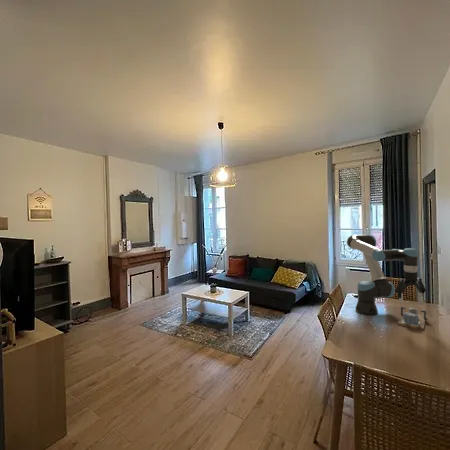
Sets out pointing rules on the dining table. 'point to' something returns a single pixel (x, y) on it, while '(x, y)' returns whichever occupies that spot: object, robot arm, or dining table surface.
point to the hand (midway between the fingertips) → (410, 302)
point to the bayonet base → (421, 318)
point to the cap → (411, 318)
